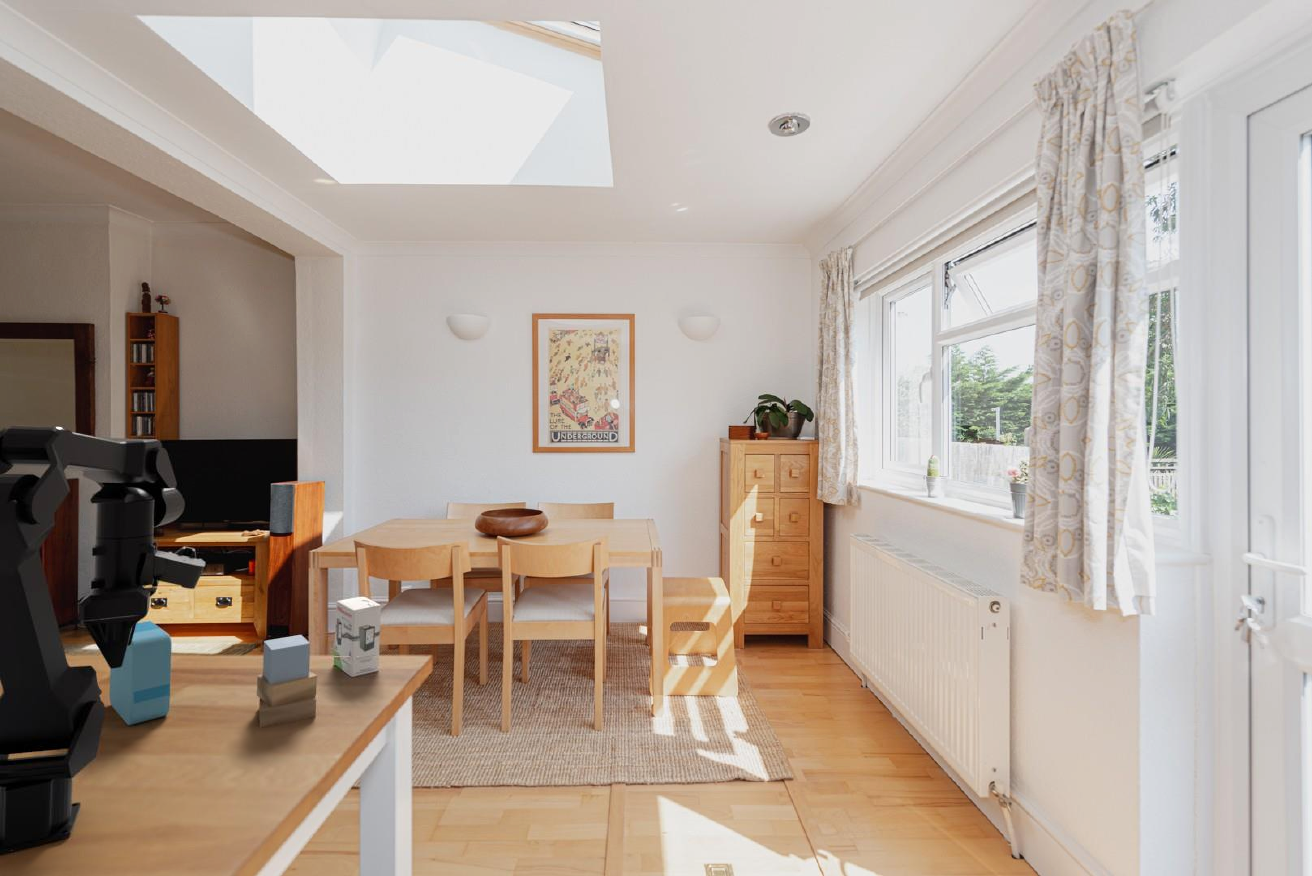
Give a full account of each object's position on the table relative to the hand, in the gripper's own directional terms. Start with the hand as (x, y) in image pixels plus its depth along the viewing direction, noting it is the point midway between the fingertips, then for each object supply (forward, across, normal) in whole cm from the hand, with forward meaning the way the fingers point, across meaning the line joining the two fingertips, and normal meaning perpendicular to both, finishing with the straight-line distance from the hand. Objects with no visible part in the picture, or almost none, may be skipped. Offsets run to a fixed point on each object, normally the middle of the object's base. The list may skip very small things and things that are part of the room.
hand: (121, 656), depth 81 cm
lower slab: (+13, +3, -19) cm, 23 cm away
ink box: (+13, +17, -31) cm, 38 cm away
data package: (+13, +14, -1) cm, 19 cm away
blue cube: (+7, +3, -19) cm, 20 cm away
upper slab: (+10, +3, -19) cm, 22 cm away
